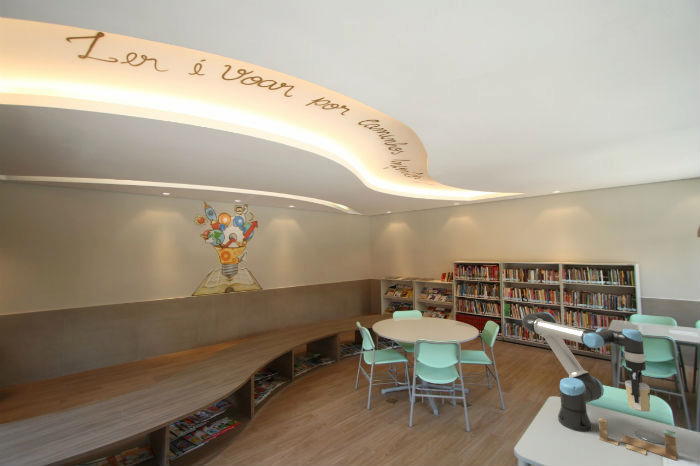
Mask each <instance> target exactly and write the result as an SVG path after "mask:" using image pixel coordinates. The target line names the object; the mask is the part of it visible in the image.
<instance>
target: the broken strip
mask: <svg viewBox="0 0 700 466" xmlns="http://www.w3.org/2000/svg"><path fill="white" fill-rule="evenodd" d="M598 428H599V429H598V430H599V433H598V434H599V440H600V441H603V442H606V443H609V444H612V445H615V446H617V447H618V446H619V444H620V443H619V440H616V439H613V438H610V437H609V433H608V432H609V429H608V420H607V419H604V418H601V417H599V418H598ZM625 449H626V450H628V451H632V452H634V453H638V454H640V455H644V456H647V451H646V450H644V449H641V448H638V447H635V446H632V445H629V444H625Z"/></svg>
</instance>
